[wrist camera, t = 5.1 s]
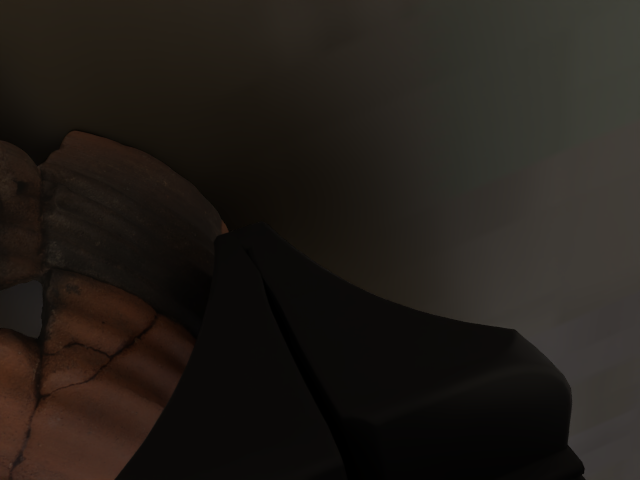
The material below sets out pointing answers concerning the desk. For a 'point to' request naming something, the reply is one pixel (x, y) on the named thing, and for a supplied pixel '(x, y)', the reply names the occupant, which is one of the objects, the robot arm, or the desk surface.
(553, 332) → the desk surface
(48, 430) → the pottery mug
